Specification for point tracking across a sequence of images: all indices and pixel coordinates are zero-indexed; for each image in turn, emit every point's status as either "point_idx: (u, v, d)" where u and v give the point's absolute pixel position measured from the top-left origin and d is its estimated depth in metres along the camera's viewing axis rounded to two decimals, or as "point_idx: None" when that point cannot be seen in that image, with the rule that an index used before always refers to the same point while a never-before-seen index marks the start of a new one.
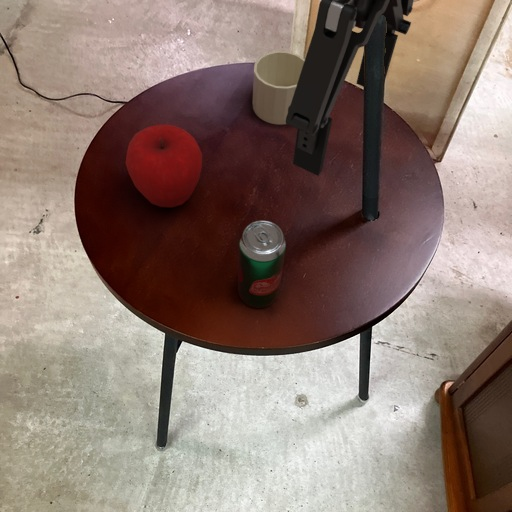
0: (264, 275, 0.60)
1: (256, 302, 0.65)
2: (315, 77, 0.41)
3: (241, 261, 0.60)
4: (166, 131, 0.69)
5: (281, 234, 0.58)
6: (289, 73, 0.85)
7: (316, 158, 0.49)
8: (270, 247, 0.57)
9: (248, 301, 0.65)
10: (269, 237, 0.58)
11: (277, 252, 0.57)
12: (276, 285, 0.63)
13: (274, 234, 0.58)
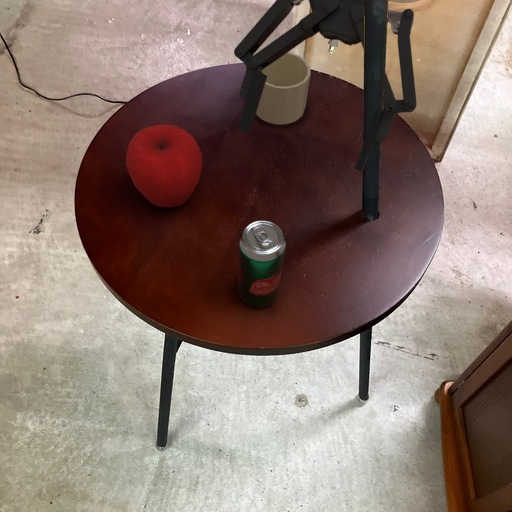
0: (264, 275, 0.60)
1: (256, 302, 0.65)
2: None
3: (241, 261, 0.60)
4: (166, 131, 0.69)
5: (281, 234, 0.58)
6: (289, 73, 0.85)
7: None
8: (270, 247, 0.57)
9: (248, 301, 0.65)
10: (269, 237, 0.58)
11: (277, 252, 0.57)
12: (276, 285, 0.63)
13: (274, 234, 0.58)
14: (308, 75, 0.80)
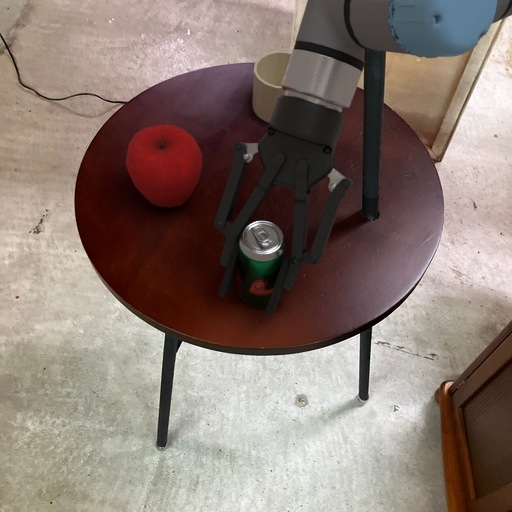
0: (263, 275, 0.60)
1: (256, 302, 0.65)
2: None
3: (241, 261, 0.60)
4: (166, 131, 0.69)
5: (281, 234, 0.58)
6: None
7: None
8: (270, 247, 0.57)
9: (248, 301, 0.65)
10: (268, 237, 0.58)
11: (277, 252, 0.57)
12: None
13: (274, 234, 0.58)
14: None
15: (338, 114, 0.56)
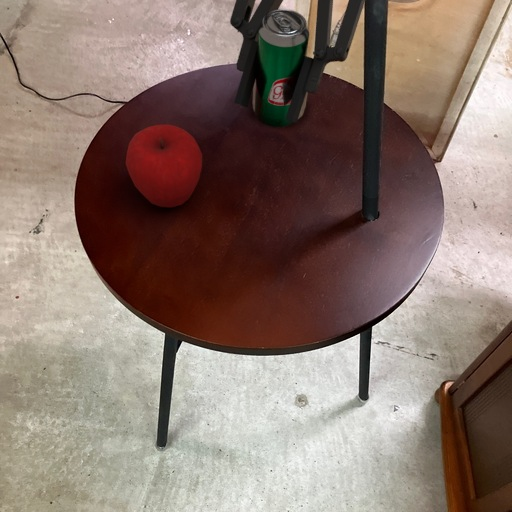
0: (284, 71, 0.55)
1: (275, 117, 0.60)
2: None
3: (260, 56, 0.55)
4: (166, 131, 0.69)
5: (304, 20, 0.54)
6: None
7: None
8: (292, 31, 0.53)
9: (265, 118, 0.61)
10: (291, 23, 0.53)
11: (300, 37, 0.53)
12: None
13: (296, 20, 0.53)
14: None
15: None
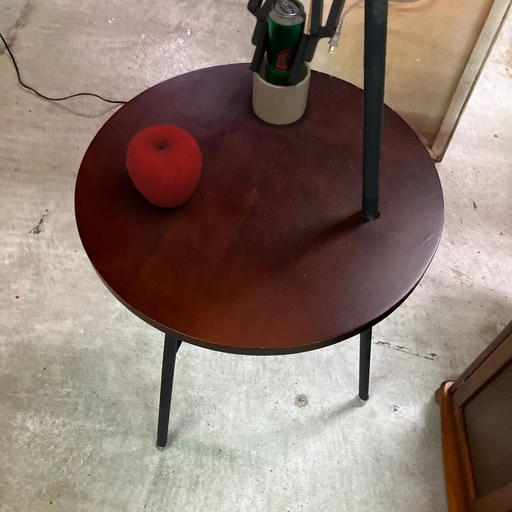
0: (288, 44, 0.74)
1: (280, 81, 0.79)
2: None
3: (269, 32, 0.74)
4: (166, 131, 0.69)
5: (302, 6, 0.72)
6: None
7: None
8: (294, 13, 0.71)
9: (273, 82, 0.79)
10: (292, 8, 0.72)
11: (299, 18, 0.71)
12: None
13: (296, 5, 0.72)
14: (308, 75, 0.80)
15: None
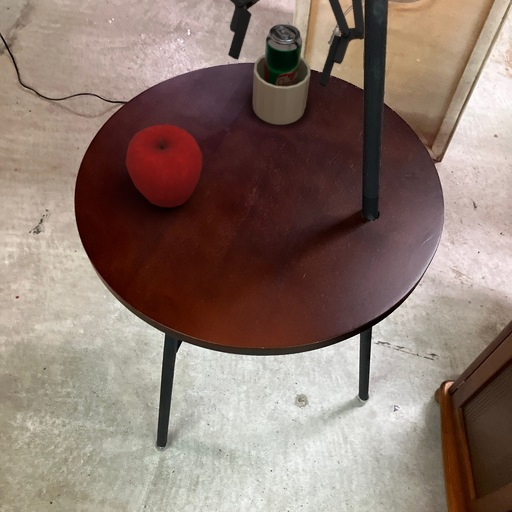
0: (286, 68, 0.77)
1: None
2: None
3: (268, 57, 0.77)
4: (166, 131, 0.69)
5: (298, 31, 0.76)
6: None
7: None
8: (291, 39, 0.75)
9: None
10: (289, 34, 0.75)
11: (296, 43, 0.75)
12: (294, 84, 0.81)
13: (293, 31, 0.76)
14: (308, 75, 0.80)
15: None
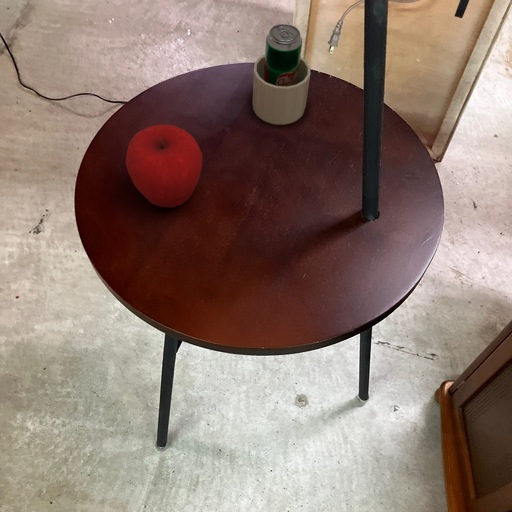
0: (286, 68, 0.77)
1: None
2: None
3: (268, 57, 0.77)
4: (166, 131, 0.69)
5: (298, 31, 0.76)
6: None
7: None
8: (291, 39, 0.75)
9: None
10: (289, 34, 0.75)
11: (296, 43, 0.75)
12: (294, 84, 0.81)
13: (293, 31, 0.76)
14: (308, 75, 0.80)
15: None
